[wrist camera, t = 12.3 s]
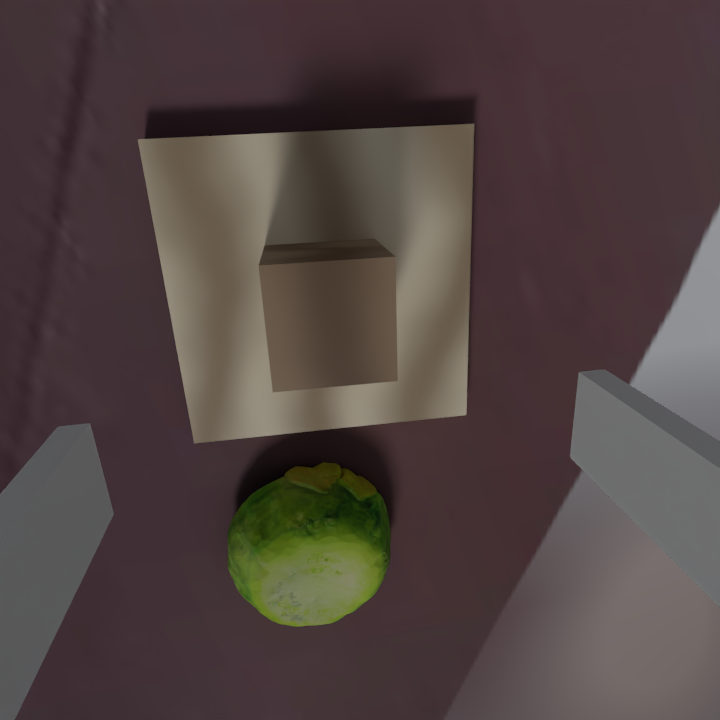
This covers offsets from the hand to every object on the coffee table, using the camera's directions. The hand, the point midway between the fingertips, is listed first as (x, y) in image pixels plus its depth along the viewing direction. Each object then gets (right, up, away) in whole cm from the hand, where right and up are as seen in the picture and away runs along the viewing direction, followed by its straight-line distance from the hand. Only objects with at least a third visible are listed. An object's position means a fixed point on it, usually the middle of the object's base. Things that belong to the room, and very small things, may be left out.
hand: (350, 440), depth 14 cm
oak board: (-2, +6, +16) cm, 18 cm away
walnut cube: (-2, +6, +15) cm, 16 cm away
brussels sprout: (-3, -10, +23) cm, 25 cm away
